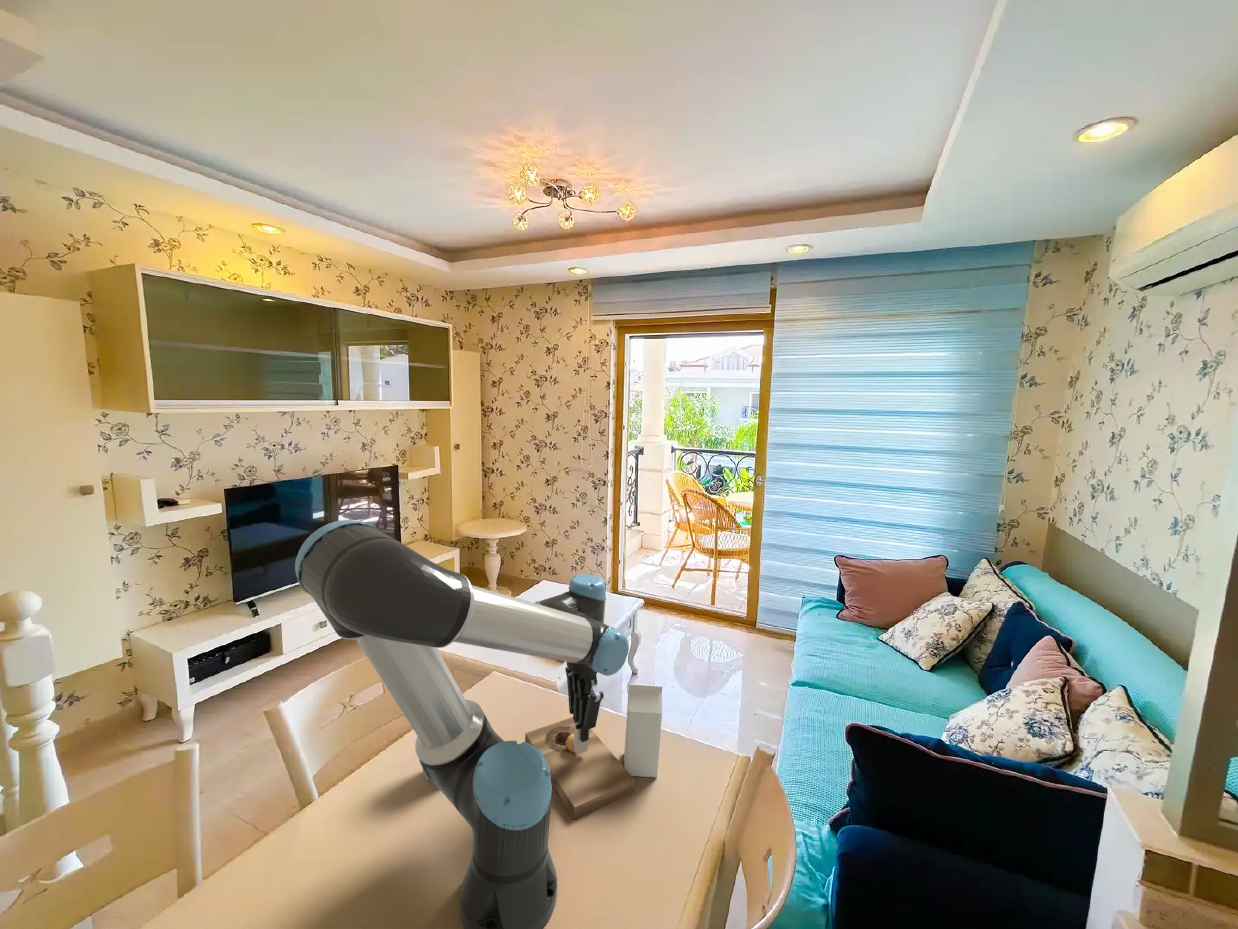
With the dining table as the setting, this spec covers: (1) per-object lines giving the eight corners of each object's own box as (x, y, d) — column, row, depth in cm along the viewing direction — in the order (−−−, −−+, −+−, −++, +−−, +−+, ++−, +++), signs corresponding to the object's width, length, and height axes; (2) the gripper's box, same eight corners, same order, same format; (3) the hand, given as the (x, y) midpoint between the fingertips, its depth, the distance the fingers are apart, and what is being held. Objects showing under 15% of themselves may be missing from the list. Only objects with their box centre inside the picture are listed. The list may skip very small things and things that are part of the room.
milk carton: (657, 778, 107) (663, 696, 104) (623, 776, 107) (629, 693, 104) (655, 754, 114) (661, 677, 111) (624, 752, 114) (629, 675, 111)
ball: (562, 737, 111) (566, 755, 110) (567, 736, 108) (572, 754, 107) (576, 731, 113) (581, 749, 112) (582, 730, 110) (587, 748, 109)
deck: (634, 791, 103) (634, 780, 103) (574, 819, 95) (574, 807, 95) (578, 724, 123) (578, 714, 122) (524, 743, 115) (525, 733, 115)
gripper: (616, 659, 101) (611, 764, 105) (586, 631, 112) (581, 727, 116) (584, 668, 97) (579, 777, 101) (555, 639, 108) (552, 738, 112)
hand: (580, 750), depth 108 cm, fingers closed
